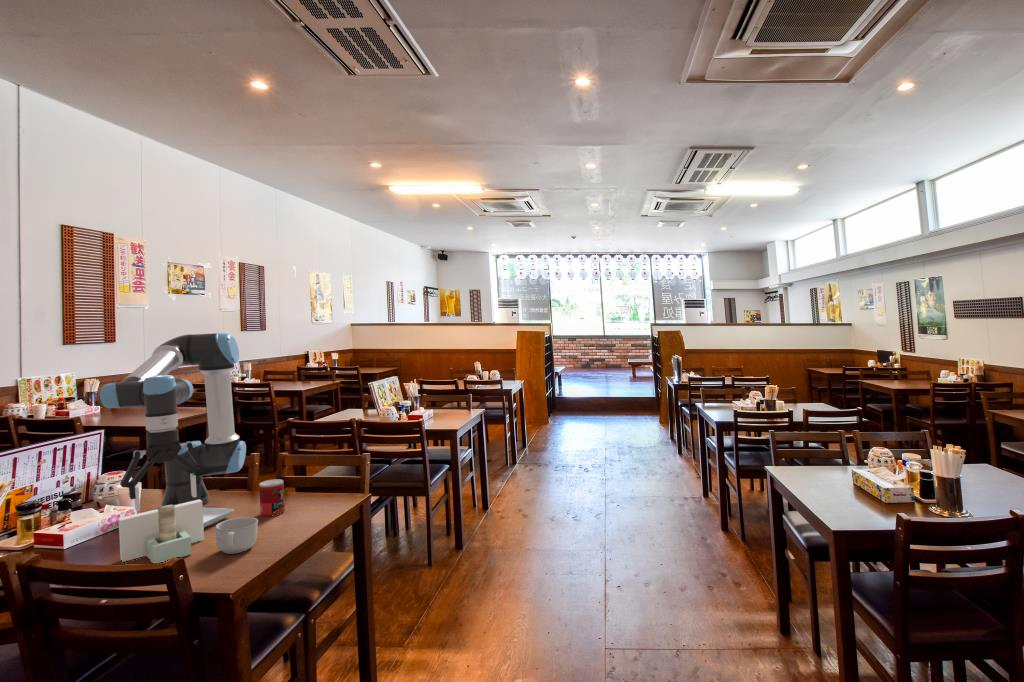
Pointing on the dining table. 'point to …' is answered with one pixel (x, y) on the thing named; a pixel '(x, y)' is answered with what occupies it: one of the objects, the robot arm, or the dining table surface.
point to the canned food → (271, 497)
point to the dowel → (167, 523)
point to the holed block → (169, 547)
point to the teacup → (236, 534)
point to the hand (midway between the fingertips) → (166, 502)
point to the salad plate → (214, 515)
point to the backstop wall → (157, 528)
